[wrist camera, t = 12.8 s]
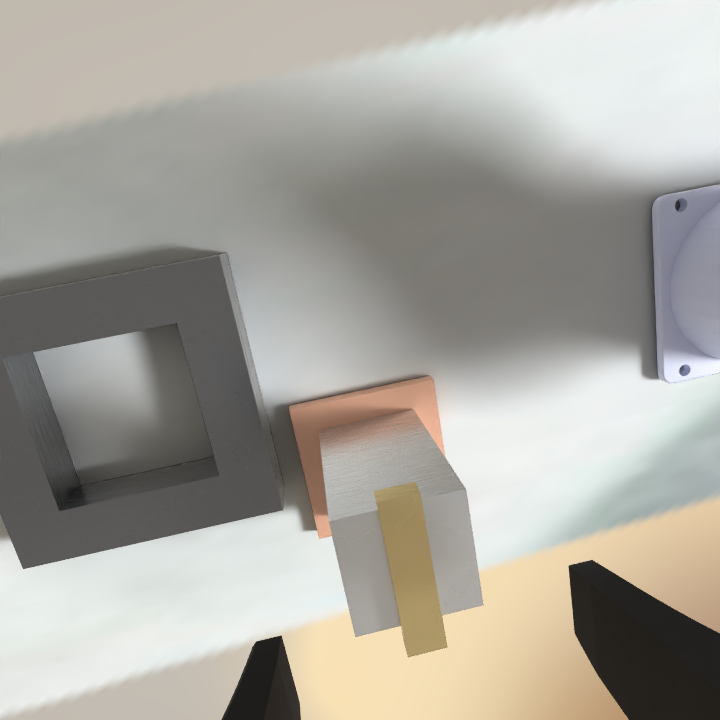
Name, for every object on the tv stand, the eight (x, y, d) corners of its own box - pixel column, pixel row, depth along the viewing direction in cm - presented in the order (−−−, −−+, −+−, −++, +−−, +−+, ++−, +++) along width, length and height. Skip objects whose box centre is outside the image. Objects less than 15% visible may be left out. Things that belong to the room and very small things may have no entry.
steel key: (430, 505, 23) (492, 635, 16) (340, 526, 23) (361, 669, 15) (410, 395, 22) (470, 480, 14) (315, 416, 21) (325, 513, 14)
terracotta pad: (429, 375, 22) (433, 379, 22) (449, 500, 24) (453, 507, 23) (289, 405, 22) (289, 410, 21) (318, 531, 23) (319, 538, 23)
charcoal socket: (226, 252, 20) (219, 255, 18) (284, 486, 23) (282, 509, 21) (-45, 304, 19) (-82, 313, 17) (47, 539, 22) (23, 569, 20)
